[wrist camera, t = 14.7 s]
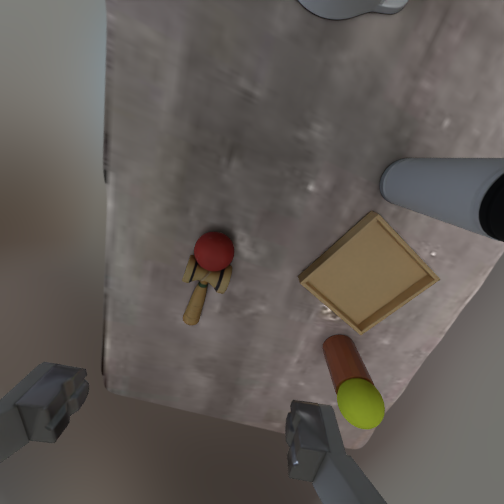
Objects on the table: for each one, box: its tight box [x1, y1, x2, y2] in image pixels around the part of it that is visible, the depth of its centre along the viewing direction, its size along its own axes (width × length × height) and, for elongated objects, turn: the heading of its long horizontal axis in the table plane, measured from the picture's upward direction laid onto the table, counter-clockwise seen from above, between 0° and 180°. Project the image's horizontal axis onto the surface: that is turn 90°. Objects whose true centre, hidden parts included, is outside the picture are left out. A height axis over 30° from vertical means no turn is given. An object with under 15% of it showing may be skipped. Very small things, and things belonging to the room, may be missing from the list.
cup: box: [323, 335, 374, 394], centre depth 41 cm, size 6×6×9 cm
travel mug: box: [380, 158, 504, 242], centre depth 24 cm, size 6×7×20 cm
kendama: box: [182, 232, 234, 325], centre depth 38 cm, size 8×6×18 cm
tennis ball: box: [337, 378, 385, 429], centre depth 35 cm, size 6×6×6 cm
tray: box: [298, 211, 440, 335], centre depth 38 cm, size 15×15×2 cm
